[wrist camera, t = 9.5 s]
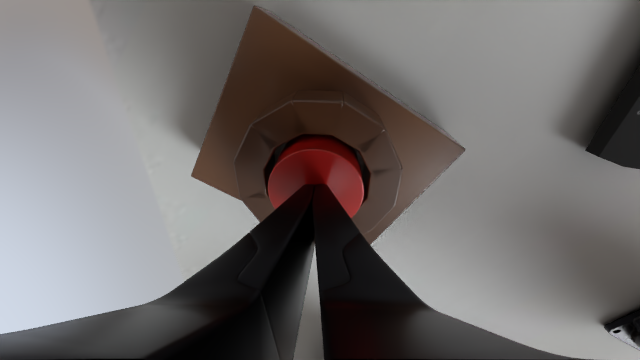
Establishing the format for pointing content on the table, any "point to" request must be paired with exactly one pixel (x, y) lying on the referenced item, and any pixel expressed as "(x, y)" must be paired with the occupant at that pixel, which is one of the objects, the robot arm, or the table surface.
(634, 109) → the remote control
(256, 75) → the button block
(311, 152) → the button
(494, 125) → the table surface
